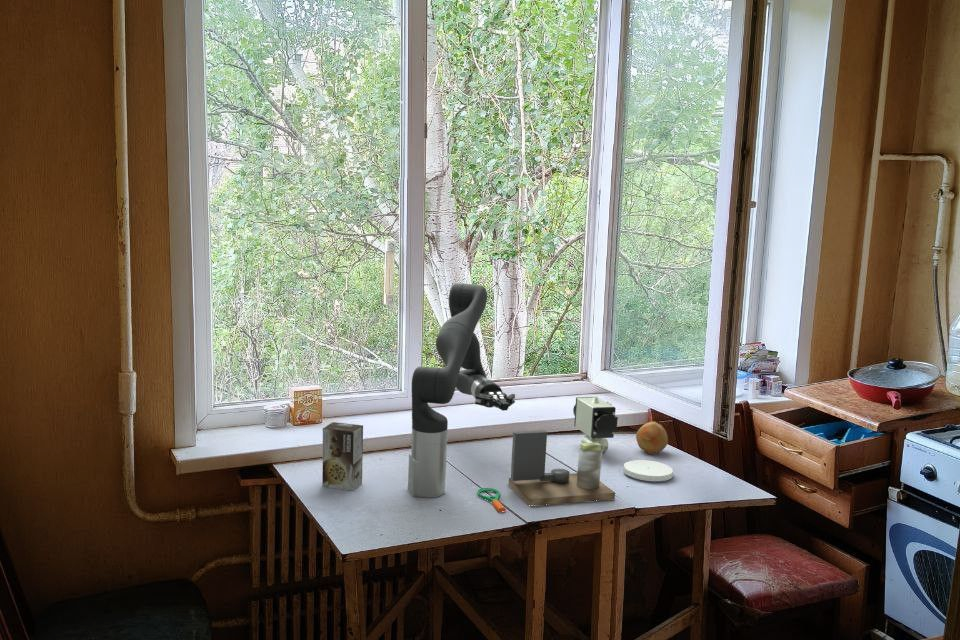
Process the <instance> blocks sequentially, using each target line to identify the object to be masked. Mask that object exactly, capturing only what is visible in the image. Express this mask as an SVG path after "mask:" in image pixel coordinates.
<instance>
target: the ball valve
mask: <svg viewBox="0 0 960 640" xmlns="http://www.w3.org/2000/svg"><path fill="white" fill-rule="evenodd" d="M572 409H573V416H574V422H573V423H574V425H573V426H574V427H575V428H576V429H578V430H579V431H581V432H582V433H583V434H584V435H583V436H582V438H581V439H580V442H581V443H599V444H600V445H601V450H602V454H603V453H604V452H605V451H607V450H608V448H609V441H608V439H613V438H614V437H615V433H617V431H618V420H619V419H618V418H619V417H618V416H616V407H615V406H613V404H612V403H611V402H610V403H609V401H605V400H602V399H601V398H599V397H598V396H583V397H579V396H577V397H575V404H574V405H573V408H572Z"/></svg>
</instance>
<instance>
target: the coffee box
mask: <svg viewBox="0 0 960 640" xmlns="http://www.w3.org/2000/svg"><path fill="white" fill-rule="evenodd" d="M363 437H364V425H362V424H361V425H360V424H354V423H353V424H352V423H346V422H338V421H337V422H334V421H333V422H330V423H329V424H328V425H326V426H324V427H322V475H321V476H322V477H321V478H322V487H323V488H331V489H339V490H346V491H354V490H356V489H358V488H359V487H360V486H361V485H362V484H363V451H364V447H363V446H364V444H363V443H364V438H363Z"/></svg>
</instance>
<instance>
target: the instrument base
mask: <svg viewBox="0 0 960 640" xmlns="http://www.w3.org/2000/svg"><path fill="white" fill-rule="evenodd" d="M602 454H603V453H602V450H601V445H600V444H599V443H582V442H581V443H580V447H579V448H578V461H577V473H576V472H575V473H574V472H573V473H570V476H569V482H568V483H563V484H561V483H555V482H552V481H540V480H539V479H537V480H522V481H512V480H511V477H508V483H507V484H509V485H508V486H509V488H511V489H512V490H513V491H514V492H515V493H516V494H517V495H518V496H519V497H520V499H522V501H524V503H525V504H526V505H527V506H529V505H530V506H531V505H544V506H549V505H548V504H557V505H565V504H564V503H570V504H577V503H576V502H582V503H587V502H586V501H595V502H599V501H598V500H608V501H613V500H612V499H616V492H615V491H614V490H612V489H611V488H610V487H609V486H607V485H606V484H605V483H603V482H602V481H601V467H602V465H601V464H602ZM596 500H597V501H596ZM574 502H575V503H574ZM546 504H547V505H546Z"/></svg>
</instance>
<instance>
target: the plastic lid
mask: <svg viewBox="0 0 960 640" xmlns="http://www.w3.org/2000/svg"><path fill="white" fill-rule="evenodd" d="M673 469H674V468H672V467H671V466H670V465H667V464H665V463H663V462H658V461H655V460H647V459H645V460H644V459H635V460H629V461H627V462H624V464H623V473H624V474H625V475H626V476H629V477H630V478H633V479H636V480H641V481H645V482H646V481H647V482H648V481H649V482H665V481H669V480H671V479H672V478H673V477H674V476H673V475H674V470H673Z"/></svg>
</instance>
